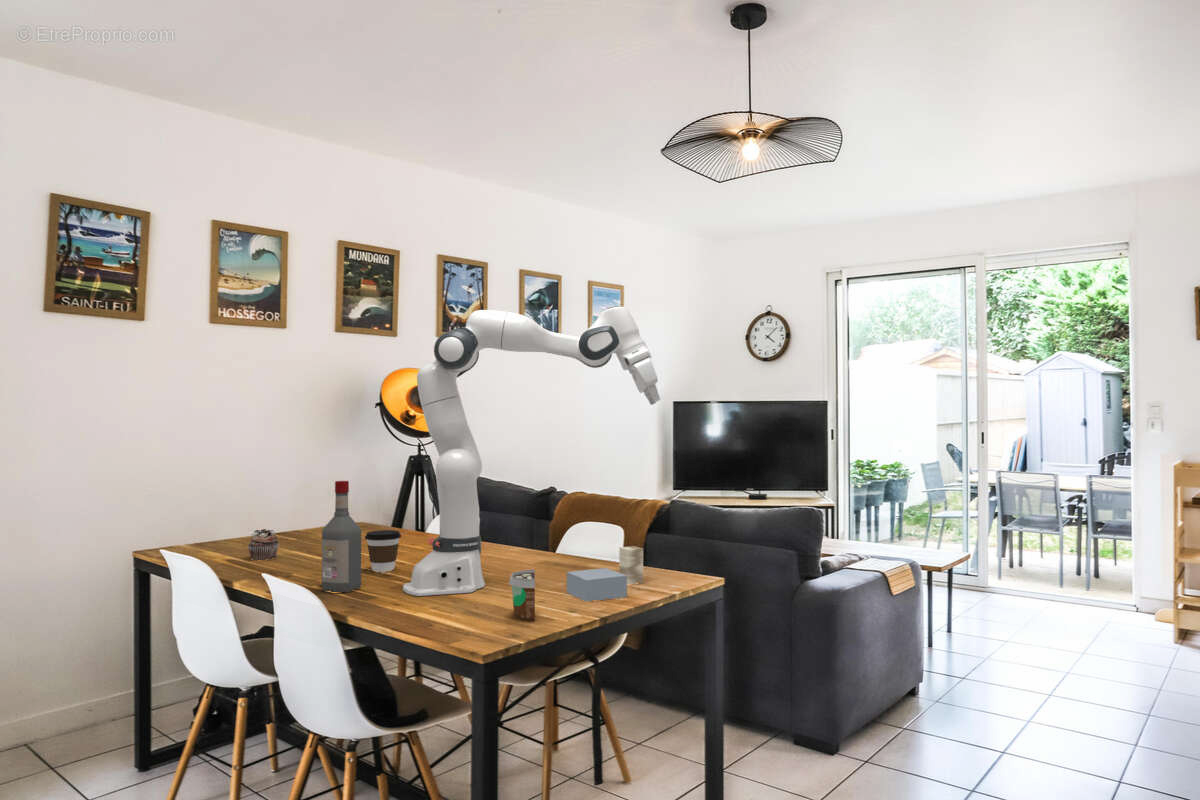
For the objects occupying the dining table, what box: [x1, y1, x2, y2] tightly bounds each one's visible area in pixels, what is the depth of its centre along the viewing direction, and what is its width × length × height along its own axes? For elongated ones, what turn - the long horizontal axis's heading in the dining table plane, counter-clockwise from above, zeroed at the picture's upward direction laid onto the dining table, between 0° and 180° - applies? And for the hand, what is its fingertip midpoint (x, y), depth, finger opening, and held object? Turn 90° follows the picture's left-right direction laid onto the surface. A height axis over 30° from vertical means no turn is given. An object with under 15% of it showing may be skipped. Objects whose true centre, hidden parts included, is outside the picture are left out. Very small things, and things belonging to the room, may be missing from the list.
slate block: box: [566, 567, 628, 602], centre depth 208 cm, size 12×12×6 cm
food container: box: [508, 569, 536, 622], centre depth 187 cm, size 12×6×10 cm, turn 5°
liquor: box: [321, 480, 362, 593], centre depth 216 cm, size 9×9×30 cm
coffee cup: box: [364, 529, 402, 572], centre depth 242 cm, size 11×11×12 cm
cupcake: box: [247, 528, 279, 560], centre depth 264 cm, size 10×10×10 cm
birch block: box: [618, 545, 644, 586], centre depth 224 cm, size 5×5×10 cm
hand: (655, 402), depth 221 cm, fingers open, 8 cm apart
